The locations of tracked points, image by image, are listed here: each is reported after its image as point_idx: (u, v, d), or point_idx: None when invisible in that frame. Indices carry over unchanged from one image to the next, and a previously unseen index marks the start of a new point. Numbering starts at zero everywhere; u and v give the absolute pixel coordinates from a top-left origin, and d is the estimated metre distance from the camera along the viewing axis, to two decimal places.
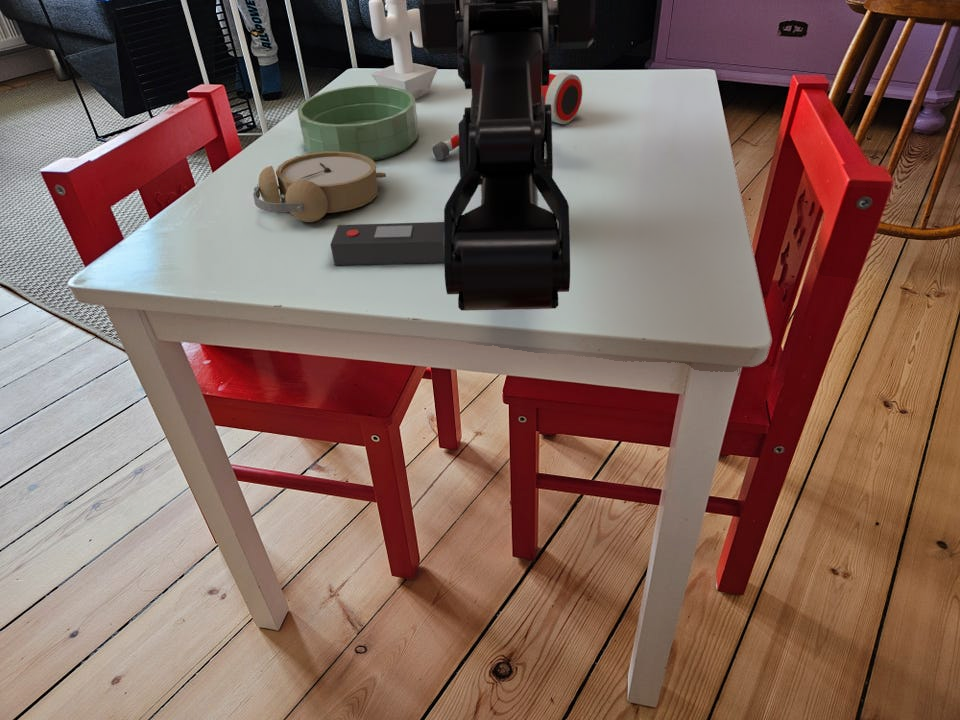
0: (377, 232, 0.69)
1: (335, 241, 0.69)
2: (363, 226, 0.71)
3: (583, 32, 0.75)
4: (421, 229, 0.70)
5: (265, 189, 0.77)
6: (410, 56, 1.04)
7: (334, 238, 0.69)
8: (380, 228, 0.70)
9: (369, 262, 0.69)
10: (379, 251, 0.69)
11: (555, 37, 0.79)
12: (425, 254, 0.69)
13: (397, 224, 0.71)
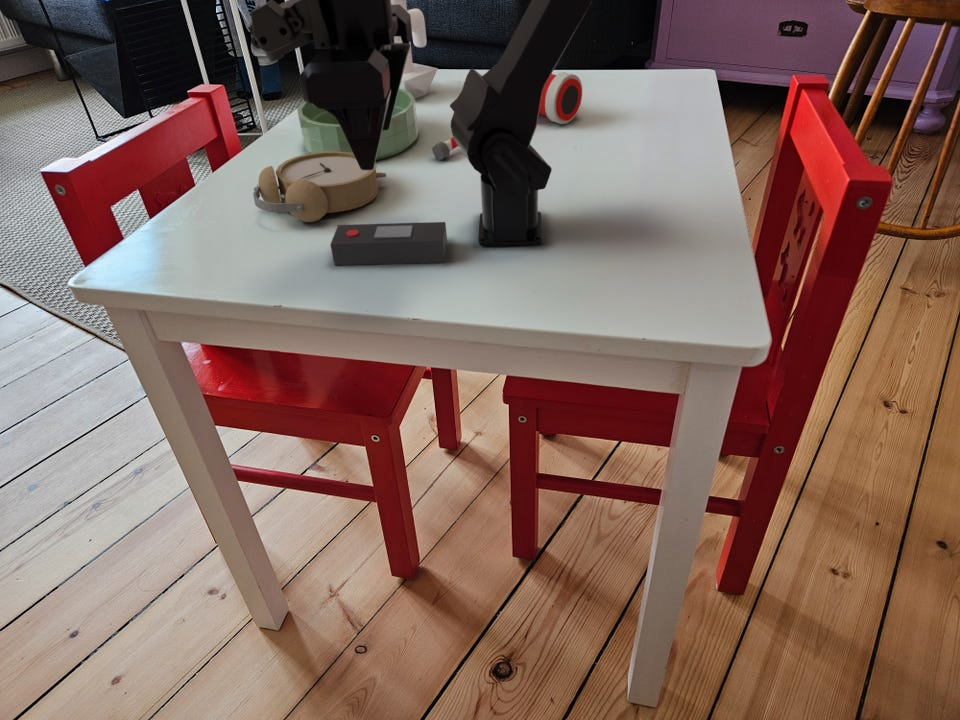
0: (377, 232, 0.69)
1: (335, 241, 0.69)
2: (363, 226, 0.71)
3: None
4: (421, 229, 0.70)
5: (265, 189, 0.77)
6: (410, 56, 1.04)
7: (334, 238, 0.69)
8: (380, 228, 0.70)
9: (369, 262, 0.69)
10: (379, 251, 0.69)
11: (401, 50, 0.64)
12: (425, 254, 0.69)
13: (397, 224, 0.71)
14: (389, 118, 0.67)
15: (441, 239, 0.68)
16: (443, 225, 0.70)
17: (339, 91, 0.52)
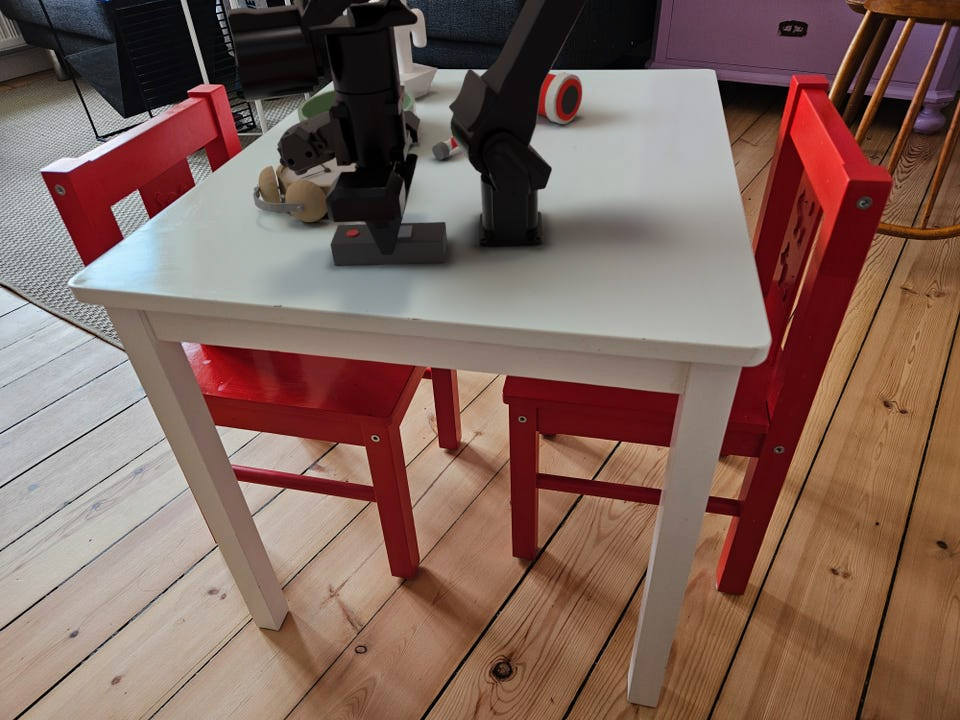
0: None
1: (335, 241, 0.69)
2: (363, 226, 0.71)
3: None
4: (421, 229, 0.70)
5: (265, 189, 0.77)
6: (410, 56, 1.04)
7: (334, 238, 0.69)
8: None
9: (369, 262, 0.69)
10: (379, 251, 0.69)
11: (409, 164, 0.68)
12: (425, 254, 0.69)
13: None
14: None
15: (441, 239, 0.68)
16: (443, 225, 0.70)
17: (361, 212, 0.58)
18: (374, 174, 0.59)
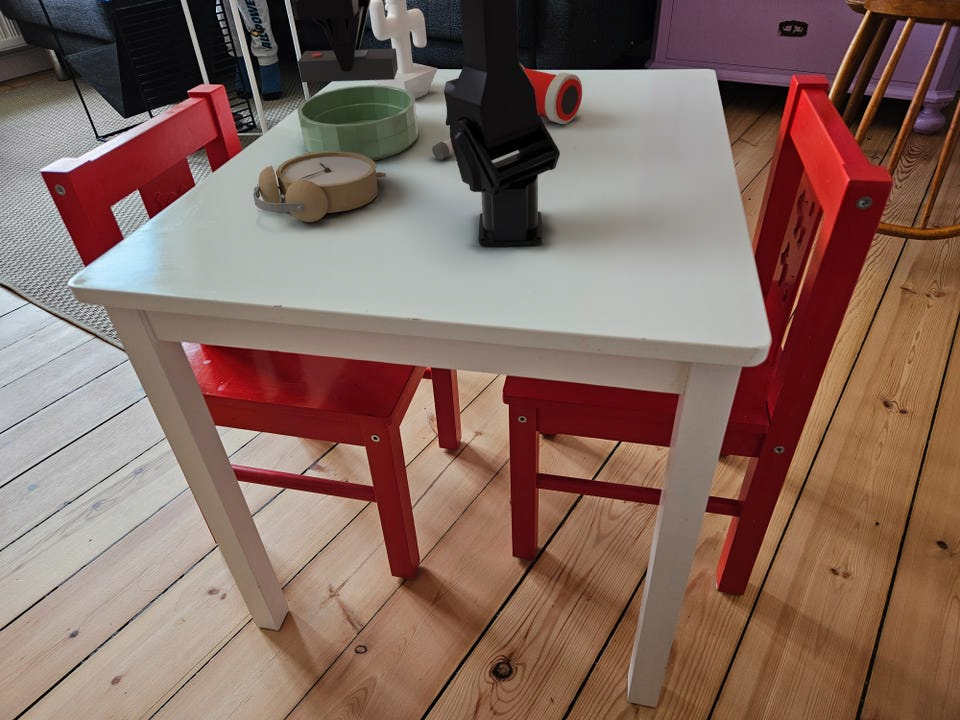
0: None
1: (302, 59, 0.82)
2: (326, 51, 0.84)
3: None
4: (375, 52, 0.83)
5: (265, 189, 0.77)
6: (410, 56, 1.04)
7: (301, 58, 0.82)
8: None
9: (331, 79, 0.82)
10: (339, 68, 0.82)
11: None
12: (377, 71, 0.82)
13: (355, 50, 0.84)
14: (357, 49, 0.84)
15: (391, 57, 0.81)
16: (393, 50, 0.83)
17: (320, 10, 0.71)
18: None
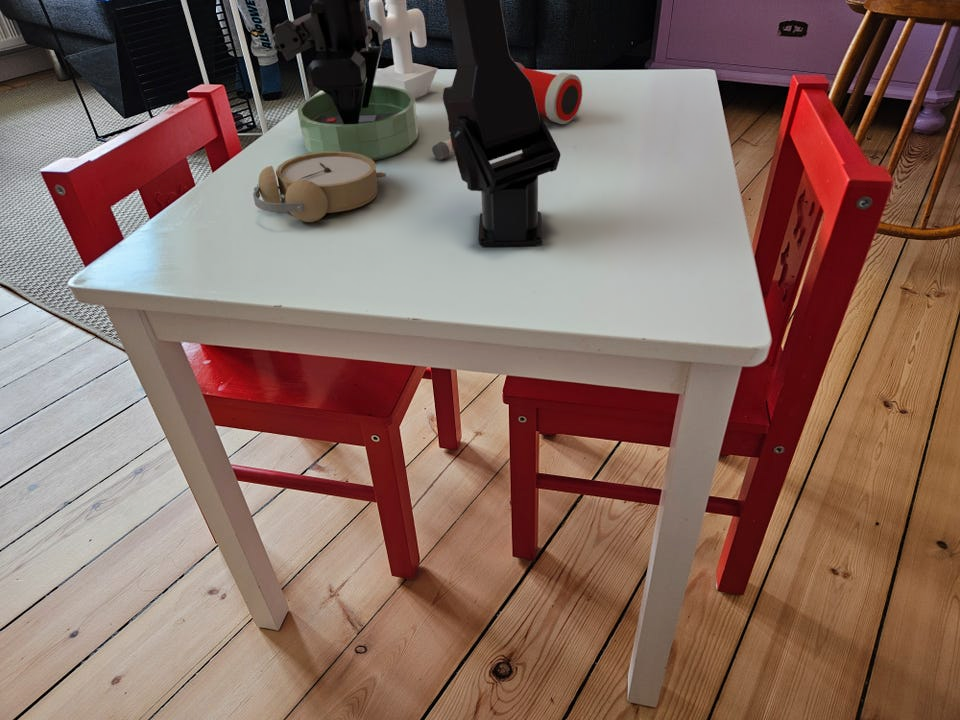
0: None
1: None
2: (339, 116, 0.94)
3: None
4: (382, 117, 0.93)
5: (265, 189, 0.77)
6: (410, 56, 1.04)
7: None
8: None
9: None
10: None
11: (375, 51, 0.92)
12: None
13: (365, 115, 0.94)
14: (368, 98, 0.96)
15: None
16: None
17: (332, 78, 0.80)
18: (342, 52, 0.82)
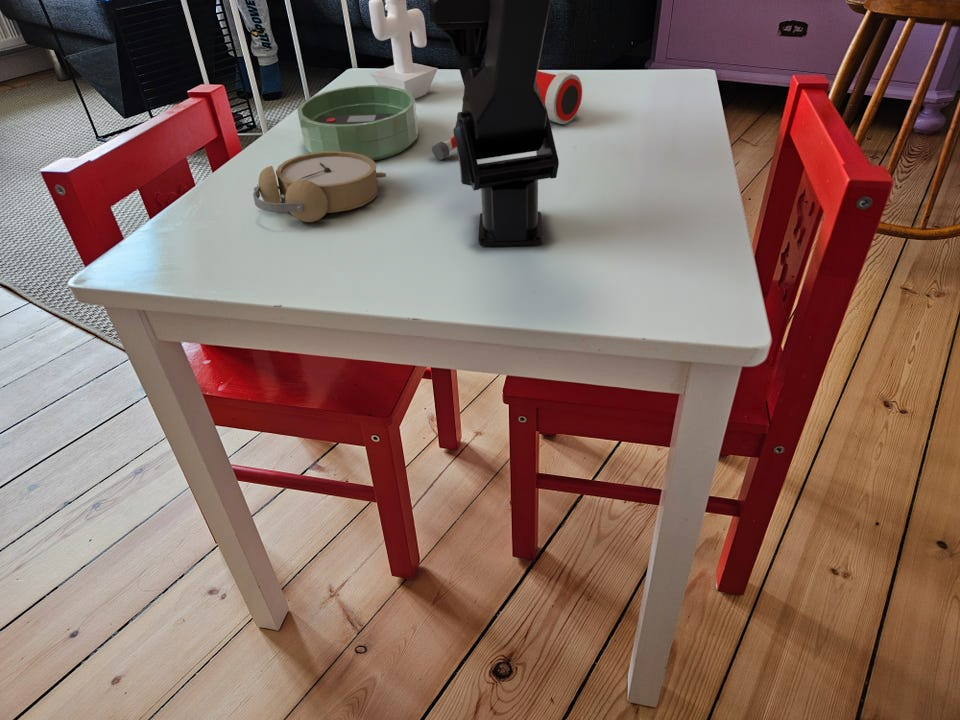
0: (349, 119, 0.93)
1: None
2: (339, 116, 0.94)
3: None
4: (382, 117, 0.93)
5: (265, 189, 0.77)
6: (410, 56, 1.04)
7: None
8: (351, 117, 0.93)
9: None
10: None
11: None
12: None
13: (365, 115, 0.94)
14: None
15: None
16: None
17: (460, 12, 0.65)
18: None
